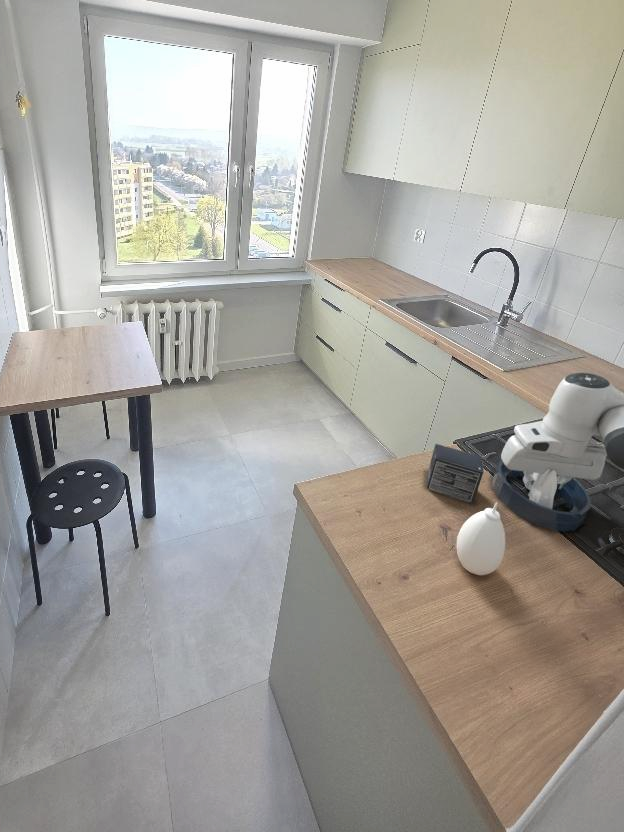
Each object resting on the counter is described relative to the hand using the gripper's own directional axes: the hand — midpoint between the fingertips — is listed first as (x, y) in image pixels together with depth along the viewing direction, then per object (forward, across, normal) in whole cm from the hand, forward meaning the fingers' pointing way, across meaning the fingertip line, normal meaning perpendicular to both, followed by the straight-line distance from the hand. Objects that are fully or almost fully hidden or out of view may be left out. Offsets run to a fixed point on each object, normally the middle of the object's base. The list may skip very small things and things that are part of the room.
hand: (540, 485), depth 99 cm
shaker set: (+4, 0, 0) cm, 5 cm away
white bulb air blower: (+5, +22, +21) cm, 31 cm away
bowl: (+5, 0, 0) cm, 5 cm away
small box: (+5, +20, 0) cm, 21 cm away
